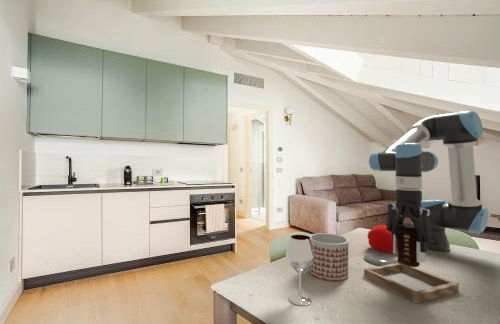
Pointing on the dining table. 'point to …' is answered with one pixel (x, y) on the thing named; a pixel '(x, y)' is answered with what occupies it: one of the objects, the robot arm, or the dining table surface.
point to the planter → (329, 257)
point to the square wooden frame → (418, 297)
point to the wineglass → (300, 263)
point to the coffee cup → (406, 244)
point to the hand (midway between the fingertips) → (408, 257)
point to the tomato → (380, 238)
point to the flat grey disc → (379, 259)
